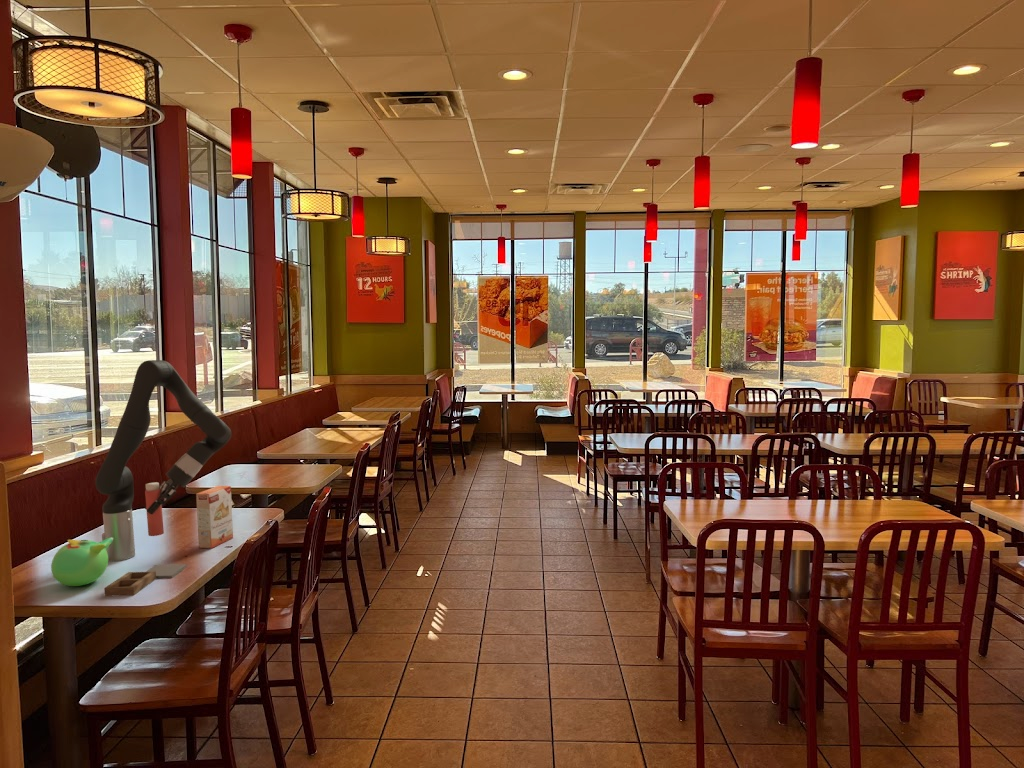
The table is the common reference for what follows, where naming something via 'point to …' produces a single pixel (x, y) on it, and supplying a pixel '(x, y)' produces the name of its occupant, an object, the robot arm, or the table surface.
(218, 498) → the cracker box
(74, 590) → the table surface
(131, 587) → the caddy
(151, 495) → the pepper mill
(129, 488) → the robot arm
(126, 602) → the table surface
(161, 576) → the slate tile
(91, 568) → the toy bird
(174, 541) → the table surface
